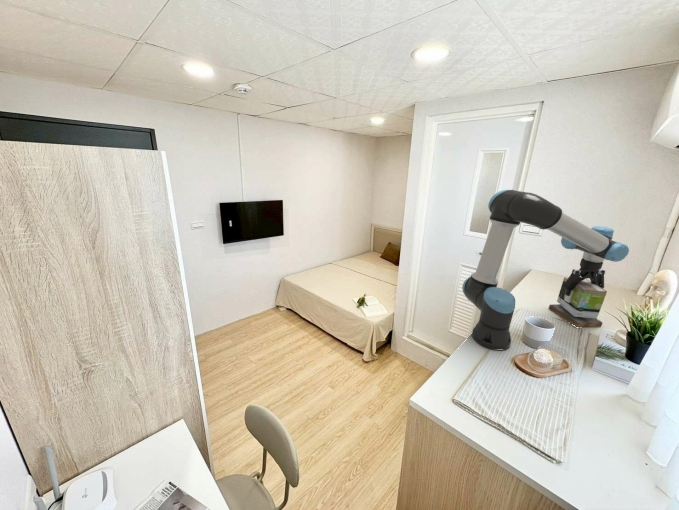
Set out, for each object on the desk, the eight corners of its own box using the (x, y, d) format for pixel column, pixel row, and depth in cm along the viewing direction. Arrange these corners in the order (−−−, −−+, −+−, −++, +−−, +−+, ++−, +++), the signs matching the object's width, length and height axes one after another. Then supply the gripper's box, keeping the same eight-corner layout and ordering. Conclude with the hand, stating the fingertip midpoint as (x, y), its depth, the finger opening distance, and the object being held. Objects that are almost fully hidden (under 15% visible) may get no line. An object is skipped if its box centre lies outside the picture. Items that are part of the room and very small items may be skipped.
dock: (575, 328, 124) (577, 322, 123) (548, 309, 140) (549, 304, 139) (600, 327, 124) (602, 322, 123) (570, 308, 140) (571, 303, 139)
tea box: (598, 319, 123) (608, 291, 118) (573, 317, 124) (582, 289, 119) (577, 303, 136) (586, 277, 131) (555, 301, 138) (563, 276, 133)
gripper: (609, 256, 125) (594, 296, 132) (561, 257, 125) (549, 297, 132) (625, 262, 118) (609, 304, 125) (574, 263, 118) (561, 305, 125)
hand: (578, 301), depth 129 cm, fingers closed on tea box, 11 cm apart
